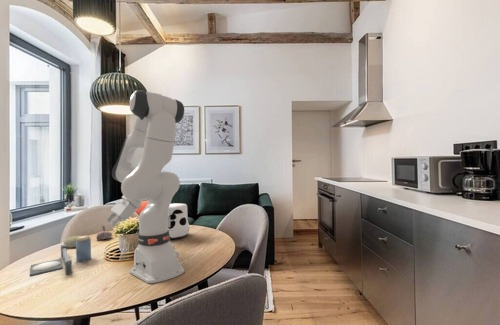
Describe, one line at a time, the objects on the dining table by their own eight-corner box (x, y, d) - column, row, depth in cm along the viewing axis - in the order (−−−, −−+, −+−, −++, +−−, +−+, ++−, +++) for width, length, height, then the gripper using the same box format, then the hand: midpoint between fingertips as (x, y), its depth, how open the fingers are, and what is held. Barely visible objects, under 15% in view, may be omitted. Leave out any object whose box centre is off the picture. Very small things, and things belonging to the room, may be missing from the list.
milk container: (186, 231, 155) (186, 202, 154) (191, 238, 139) (191, 206, 139) (157, 234, 148) (156, 204, 148) (159, 243, 132) (158, 209, 132)
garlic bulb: (93, 241, 138) (93, 226, 138) (101, 237, 145) (101, 223, 145) (107, 241, 138) (107, 226, 138) (114, 237, 145) (114, 223, 145)
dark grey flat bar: (71, 273, 97) (71, 260, 97) (65, 274, 96) (65, 261, 96) (66, 254, 117) (66, 244, 117) (61, 256, 116) (60, 245, 116)
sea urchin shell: (69, 246, 124) (64, 233, 127) (65, 255, 127) (59, 242, 130) (89, 241, 132) (83, 229, 135) (84, 249, 135) (79, 238, 138)
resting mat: (62, 268, 102) (62, 266, 102) (30, 276, 95) (29, 274, 95) (60, 260, 111) (60, 258, 111) (30, 266, 105) (30, 264, 105)
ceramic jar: (91, 259, 111) (91, 237, 111) (77, 262, 108) (76, 239, 108) (90, 255, 116) (89, 234, 115) (75, 259, 112) (75, 236, 112)
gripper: (121, 194, 131) (100, 215, 125) (132, 198, 116) (108, 222, 109) (130, 201, 134) (110, 222, 128) (142, 206, 119) (119, 231, 112)
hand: (109, 222), depth 119 cm, fingers open, 8 cm apart
